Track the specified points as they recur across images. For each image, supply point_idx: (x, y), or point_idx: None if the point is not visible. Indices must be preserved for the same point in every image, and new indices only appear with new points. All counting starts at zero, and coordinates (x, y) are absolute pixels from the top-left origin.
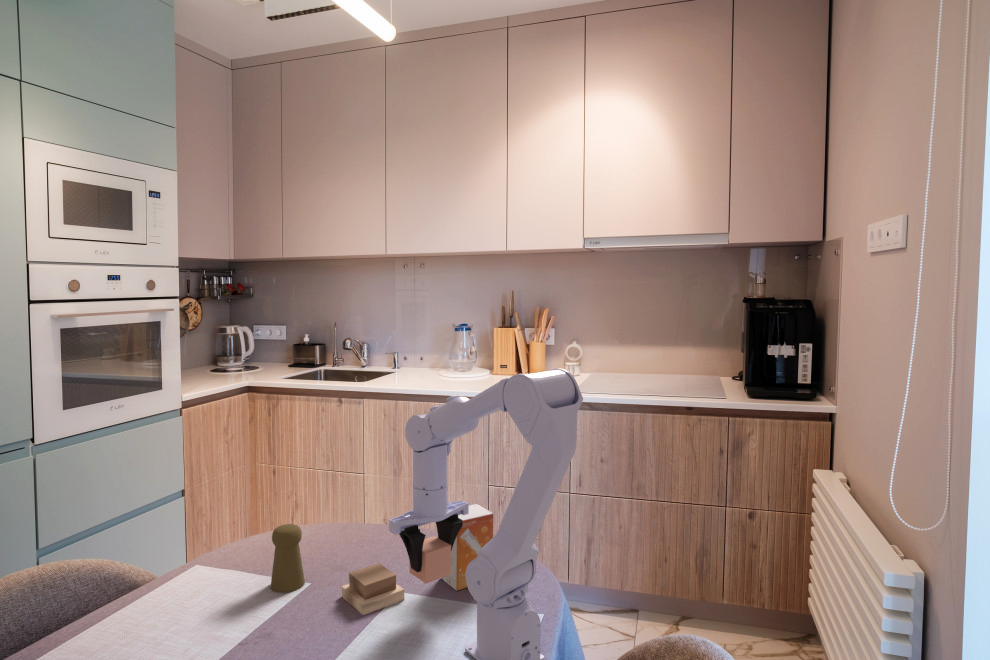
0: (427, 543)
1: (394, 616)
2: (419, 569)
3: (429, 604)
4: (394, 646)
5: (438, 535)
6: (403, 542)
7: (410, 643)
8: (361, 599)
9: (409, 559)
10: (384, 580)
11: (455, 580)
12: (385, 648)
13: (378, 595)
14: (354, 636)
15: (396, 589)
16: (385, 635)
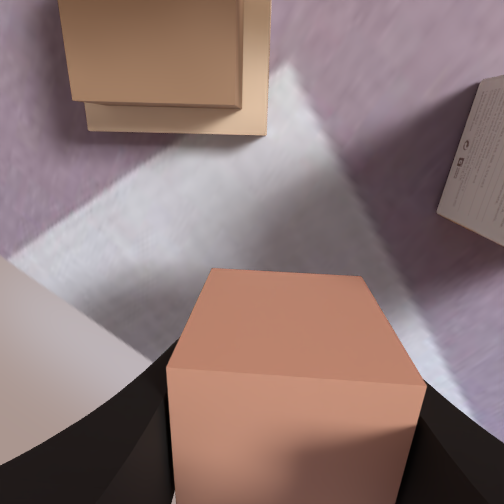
0: (279, 448)
1: (186, 206)
2: None
3: (311, 219)
4: (123, 321)
5: (433, 441)
6: (67, 428)
7: (160, 335)
8: None
9: (163, 353)
10: (175, 102)
11: (456, 214)
12: (101, 314)
13: (161, 110)
14: (50, 221)
15: (241, 113)
16: (123, 270)
